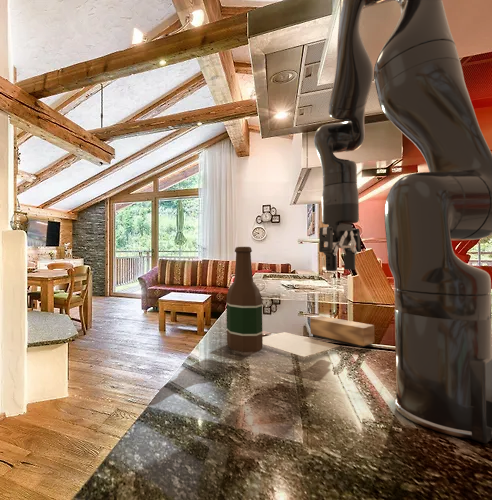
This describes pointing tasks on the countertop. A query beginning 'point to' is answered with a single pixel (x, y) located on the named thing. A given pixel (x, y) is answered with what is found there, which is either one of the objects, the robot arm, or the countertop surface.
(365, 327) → the scrub brush
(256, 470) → the countertop surface
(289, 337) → the white tile
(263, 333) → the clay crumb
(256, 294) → the beer bottle
